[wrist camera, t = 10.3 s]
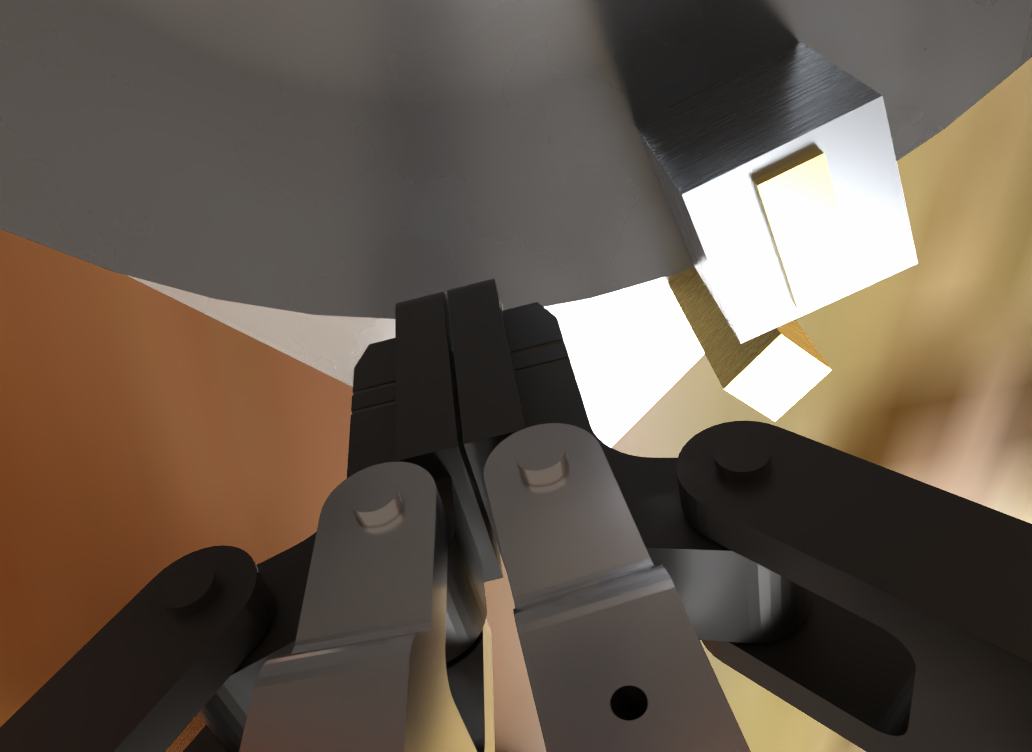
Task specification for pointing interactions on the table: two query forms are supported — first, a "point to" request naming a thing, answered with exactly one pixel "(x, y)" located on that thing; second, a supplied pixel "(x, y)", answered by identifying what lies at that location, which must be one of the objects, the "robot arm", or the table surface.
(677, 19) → the grey flat round piece
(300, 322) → the base plate
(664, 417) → the table surface
